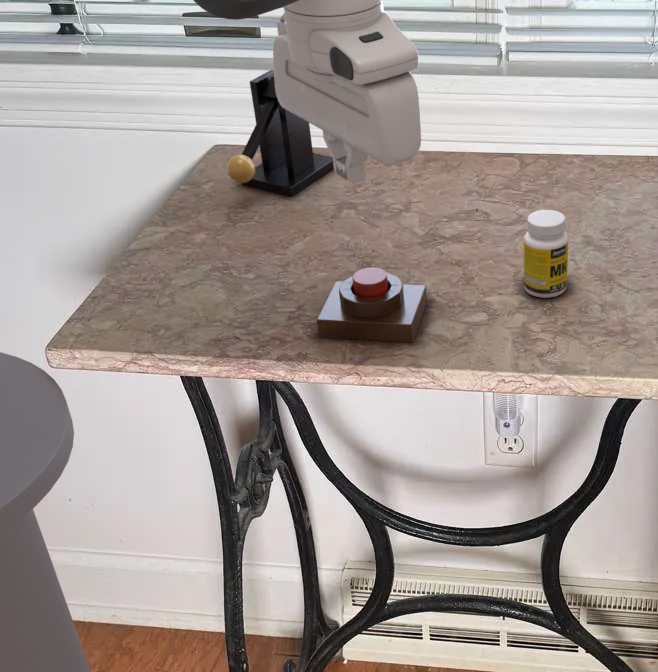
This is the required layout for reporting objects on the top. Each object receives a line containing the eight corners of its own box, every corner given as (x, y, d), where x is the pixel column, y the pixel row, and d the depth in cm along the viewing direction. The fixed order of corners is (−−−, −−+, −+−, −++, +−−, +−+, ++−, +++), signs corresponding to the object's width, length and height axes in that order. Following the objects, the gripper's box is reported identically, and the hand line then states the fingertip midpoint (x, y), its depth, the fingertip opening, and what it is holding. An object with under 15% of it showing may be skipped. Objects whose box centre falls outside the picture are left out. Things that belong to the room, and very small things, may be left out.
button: (350, 298, 123) (348, 283, 121) (358, 281, 125) (356, 266, 124) (384, 300, 122) (383, 285, 121) (391, 282, 125) (390, 268, 124)
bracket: (291, 196, 150) (277, 97, 141) (242, 184, 153) (225, 87, 145) (337, 166, 156) (326, 69, 148) (288, 155, 159) (275, 60, 151)
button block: (319, 337, 124) (314, 304, 121) (337, 298, 130) (333, 266, 127) (412, 342, 122) (410, 309, 120) (427, 303, 128) (425, 270, 126)
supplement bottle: (554, 303, 127) (554, 232, 122) (516, 292, 129) (515, 222, 124) (575, 283, 130) (576, 213, 125) (537, 273, 132) (537, 203, 127)
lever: (253, 190, 146) (239, 175, 143) (231, 185, 148) (217, 170, 145) (300, 93, 149) (287, 76, 146) (278, 89, 150) (265, 72, 147)
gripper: (248, 14, 112) (268, 152, 121) (369, 72, 100) (381, 222, 108) (305, -1, 115) (320, 136, 124) (429, 54, 102) (436, 202, 111)
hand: (350, 177), depth 116 cm, fingers closed
